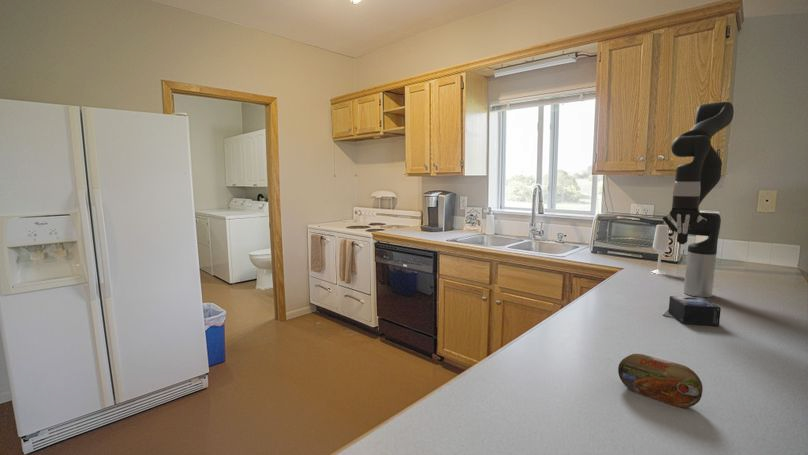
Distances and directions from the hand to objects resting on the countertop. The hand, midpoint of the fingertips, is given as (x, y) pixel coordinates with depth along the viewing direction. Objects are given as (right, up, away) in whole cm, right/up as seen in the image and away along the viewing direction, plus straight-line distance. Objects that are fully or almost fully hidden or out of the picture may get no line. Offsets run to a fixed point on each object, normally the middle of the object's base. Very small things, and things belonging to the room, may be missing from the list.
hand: (681, 243), depth 136 cm
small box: (+3, -22, -9) cm, 24 cm away
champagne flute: (+28, -17, +55) cm, 65 cm away
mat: (-1, -24, -3) cm, 25 cm away
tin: (-44, -31, -53) cm, 75 cm away
